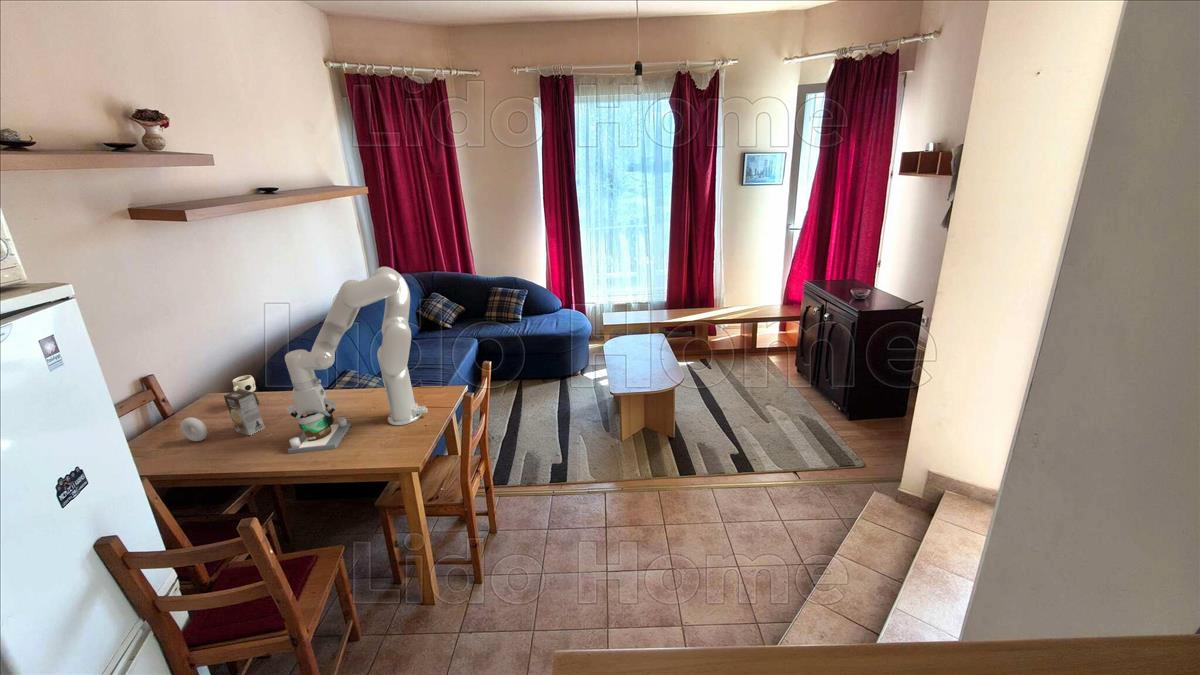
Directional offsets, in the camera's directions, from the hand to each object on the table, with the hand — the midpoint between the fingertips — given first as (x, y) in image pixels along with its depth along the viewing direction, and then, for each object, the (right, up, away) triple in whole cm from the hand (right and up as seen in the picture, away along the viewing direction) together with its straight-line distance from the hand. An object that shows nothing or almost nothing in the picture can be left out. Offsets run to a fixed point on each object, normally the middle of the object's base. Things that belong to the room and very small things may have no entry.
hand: (317, 425), depth 182 cm
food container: (+2, -4, +1) cm, 4 cm away
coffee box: (-33, -4, +12) cm, 36 cm away
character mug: (-48, +3, +33) cm, 59 cm away
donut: (-49, -7, +7) cm, 50 cm away
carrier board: (0, -5, +2) cm, 6 cm away
